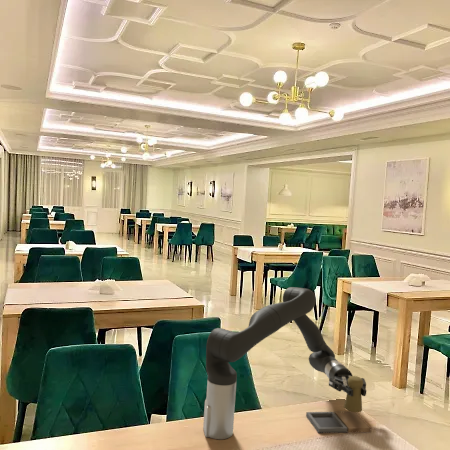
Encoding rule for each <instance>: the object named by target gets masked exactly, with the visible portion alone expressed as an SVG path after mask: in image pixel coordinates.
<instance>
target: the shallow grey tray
mask: <svg viewBox="0 0 450 450" xmlns="http://www.w3.org/2000/svg"><path fill="white" fill-rule="evenodd" d="M334 412H335V411H308V412H306V413H305V417H306V418H307V420H308V421H309V422H310V424H311V425H312V426H313V428H314V429H315V430H316V432H317V433H318V434H345V433H348V431H347V427H346V426H345V425H344V424H343V423H342V421H341V420H340V419H339V418H338V417H337V416H336V414H335V413H334Z"/></svg>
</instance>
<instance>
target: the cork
mask: <svg viewBox="0 0 450 450" xmlns="http://www.w3.org/2000/svg"><path fill="white" fill-rule="evenodd" d="M361 378H362V377H359V376H358V375H357V376H356V375H352V376H351V377H349V378H348V385H349V387H350V388H351V389H352V390H353V396H350V395H348V394H347V393H346V397H345V401H344V405H343V408H344V409H345V410H347V411H351V412H357V413H362V411H363V403H362V402H363V400H362V397H363V396H362V395H361V388H362V386H363V380H362V379H361Z"/></svg>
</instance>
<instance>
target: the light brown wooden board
mask: <svg viewBox="0 0 450 450" xmlns="http://www.w3.org/2000/svg"><path fill="white" fill-rule="evenodd" d="M333 412H334V413H335V414H336V416H337V417H338V418H339V419H340V420H341V421H342V423H343V424H344V425H345V426H346V427H347V433H349V434H350V433H351V434H352V433H371V432H372V427H371V426H370V425H369V424H368V423H367V422H366V421H365V419H363V418H362V417H361V415H359V412H351V411H348V410H347V411H333Z"/></svg>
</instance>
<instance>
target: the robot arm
mask: <svg viewBox="0 0 450 450" xmlns="http://www.w3.org/2000/svg"><path fill="white" fill-rule="evenodd" d="M316 297H317V296H316V294H315V293H314V291H312V290H311V289H309V288H305V287H304V288H303V287H296V286H295V287H294V286H290V287H288V288H286V289H285V290H284V292H283V294H282V302H276V303H272V304H268V305H266V306H264V307H261V308H260V309H258V310H257V311H254V313H253V314H252V315H251V317H250V320H249V322H248V326H247V327H246V328H244V329H243V330H241V331H238V332H235V331H231V330H228V329H225V328H220V327H217V328H214V329H212V330H211V331H210V333H209V335H208V338H207V340H206V348H205V349H206V350H205V370H206V373H207V385H206V398H205V400H204V411H203V424H202V425H203V427H202V428H203V433H204V436H205V437H206V438H210V439H215V440H224V439H229V438H230V437H232V436H233V435H234V420H235V408H236V407H235V405H236V393H237V380H238V378H237V377H238V376H237V374H238V373H237V371H236V370H235V369H234V367H232V365H231V364H230V363H235V362H236V361H238V360H240V359H241V358H243V356H245V355H246V354H247V353H248V352H249V351H251V349H253V348H254V347H256V346H257V345H258V344H259V343H261V342H262V341H263V340H265V339H266V338H268V337H270V336H272V335H273V334H274V333H276V332H278V331H279V330H280V329H283V327H284V326H286V325H288V324H289V323H291V322H292V321H294V323H295V324H296V326H297V327H298V329H299V331H300V332H301V334H302V337H303V339H304V341H305V344H306V346H307V348H308V350H309V351H310V352H312V353H310V354H309V357H308V363H309V365H310V366H311V367H312V369H314V370H315V371H318V372H320V373H323V374H325V375H326V377H327V379H328V387H331V388H332V389H334V390H336V391H338V392H344V393H346V395H347V394H348V395H350V396H353V390H352V389H351V388H350V387H349V385H348V378H349V377H351V376H353V374H352V372H351V370H349V368H347V367H346V366H345V365H344V364H343V363H342V362H340V361H338V359H336V355H335V353H334V350H332V348H330V347H329V346H328V344H327V343H326V341H325V339H324V336H323V334H322V331H321V330H320V328H319V327H318V325H317V324H316V323H315V322H314V321H313V320H312V319H311V318H310V317H309V316H308V315H307V314H309V313H310V312H311V311H312V310H314V307H315V305H316V302H317V298H316ZM360 378H361V379H362V380H363V386H362V388H361V396H362V397H366V396H367V382H366V379H365V378H363V377H360Z"/></svg>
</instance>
